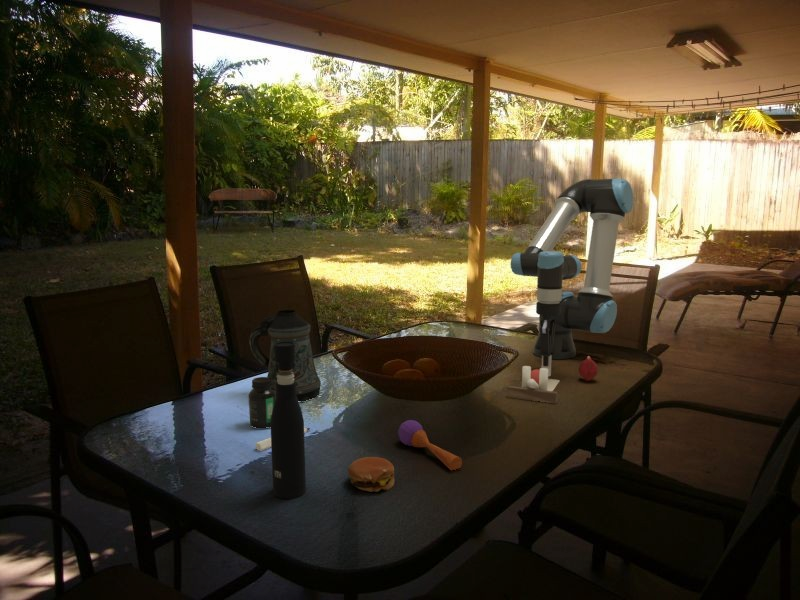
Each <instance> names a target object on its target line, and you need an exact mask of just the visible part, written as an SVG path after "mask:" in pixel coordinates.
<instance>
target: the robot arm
mask: <svg viewBox="0 0 800 600" xmlns="http://www.w3.org/2000/svg"><path fill="white" fill-rule="evenodd" d="M633 205H634V194H633V188H632V186H631V183H630V182H629V181H628V180H627V179H623V178H601V179H597V178H596V179H595V178H593V179H590V178H589V179H588V178H587V179H582V180H579V181H576V182H575V183H573V184H571V185H570V186H568V187H567V188H566V189H565V190H563V191H562V192H561V193H560V194H559V195H558V196H557V198H556V199H555V200H554V203H553V209H552V210H551V212H550V213H549V215H548V216H547V218H545V221H544V223H543V224H542V226H541V227H540V228H539V230H538V231H537V233H536V234H535V236H534V238H533V239H532V240H531V241H530V243H529V245H528V246H527V248H526V249H525V250H524V252H516V253H514V254H513V255H512V257H511V259H510V269H511V272H512V274H514V275H518V276H523V277H534V278H537V282H536V283H537V284H536V290H535V291H534V293H535V294H536V300H537V302H536V304H535V308H536V309H535V312H536V314H537V315H539V319H538V320H539V321H538V334H537V336H536V337H537V338H536V340H535V342H534V345H533V350H532V351H533V355H535V356H536V357H539V358H541V368H547V369H548V377H552V376H551V374H552V360H567V359H572V358H573V359H574V358H575V357H576V352H577V351H576V346H575V343H574V339H573V334H572V332H573V331H572V330H575V331H576V330H577V331H581V332H588V333H593V334H595V333H597V334H598V333H599V334H605V333H607V332H609V331H610V330H611V328H612V327H613V326H614V323H615V321H616V318H617V315H618V314H617V313H618V309H617V308H618V305H617V303H616V301H614V300H613V298H614V297H613V296H614V295H613V294H612V293H611V292H610V287H611V278H612V272H613V267H614V260H615V259H614V258H615V252H616V246H617V245H616V244H617V238H618V232H619V225H620V223H621V222H623V221H624V220H625V215H626V214H629V213H630V212H632V209H633ZM581 213H589V217H590V219H591V220H592V227H591V228H592V229H591V236H590V241H589V250H588V256H587V262H586V269H585V275H584V282H583V287H582V288H581V289H580V290H579V291H578V292H577V296H575V294H574V292H572V291H563V281H565V280H572V279H574V278H576V277H577V276H578V275H579V274H580V273H581V272H582V271H581V270H582V262H581V260H580V259H579V257H577V256H576V255H574V254H565V255H564V254H563V252H562V251H556V250H554V248H555V247H556V245H557V244H558V242H559V240H560V239H561V237H562V236H563V234H564V233H565V231H566V230H567V228H568V226H569V225H570V223H571V222H572V220H575V219H576V218H577V217H579V215H580V214H581Z"/></svg>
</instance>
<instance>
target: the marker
mask: <svg viewBox="0 0 800 600" xmlns="http://www.w3.org/2000/svg"><path fill="white" fill-rule="evenodd" d="M310 429H311V428H310V427H304V435H305V434H306V433H307V432H308V431H309V430H310ZM270 447H271V436H270V437H269V438H266V439H262V440H261V441H257V442H256V443H255V446H254V448H255V450H256V449H258V450H260V451H261V452H263V451H265V449H266V450H268V448H269V449H270ZM258 450H257V451H258ZM262 450H263V451H262ZM260 451H259V452H260Z"/></svg>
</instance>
